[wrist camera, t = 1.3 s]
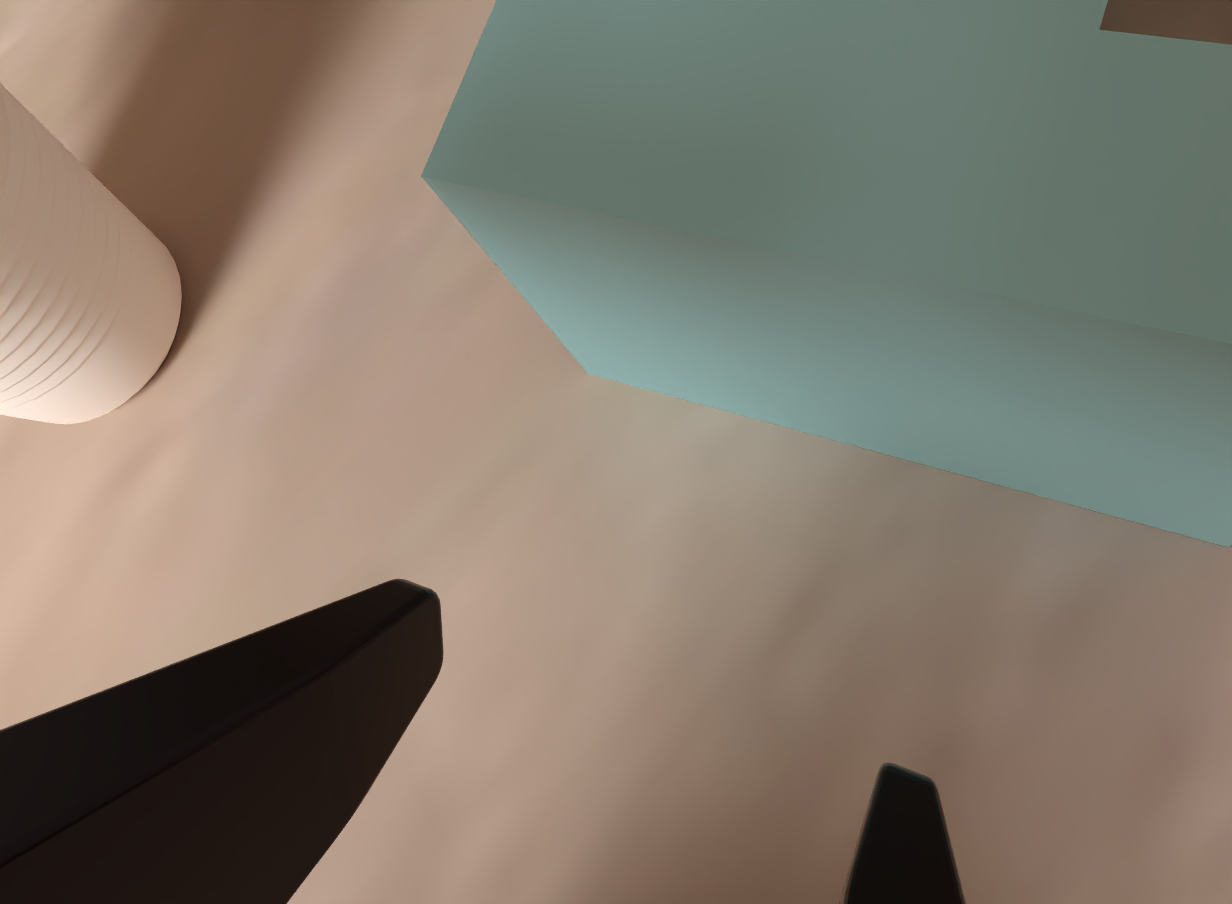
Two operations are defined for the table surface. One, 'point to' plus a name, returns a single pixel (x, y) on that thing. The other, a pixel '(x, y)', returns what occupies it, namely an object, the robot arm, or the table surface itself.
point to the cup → (73, 283)
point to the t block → (879, 227)
